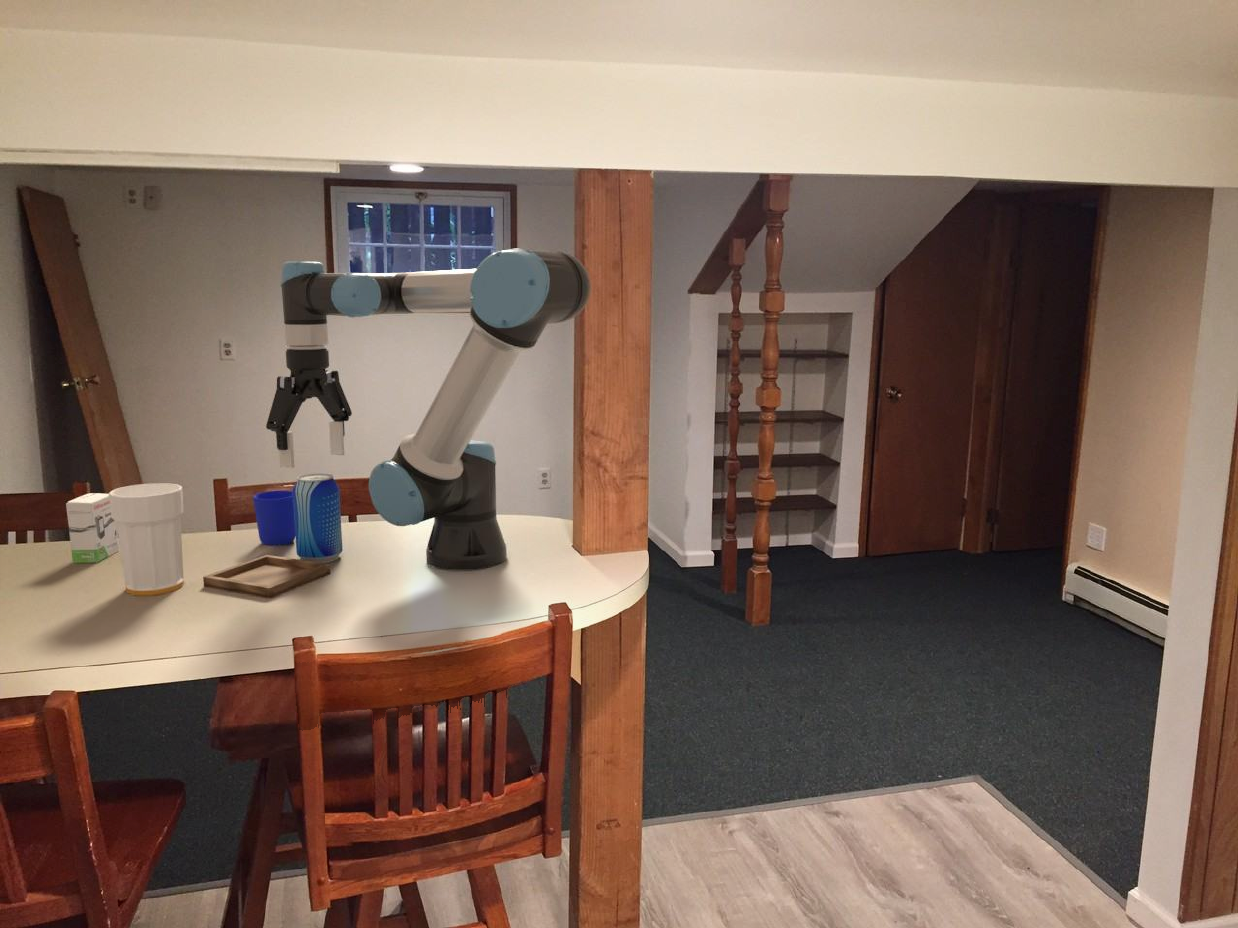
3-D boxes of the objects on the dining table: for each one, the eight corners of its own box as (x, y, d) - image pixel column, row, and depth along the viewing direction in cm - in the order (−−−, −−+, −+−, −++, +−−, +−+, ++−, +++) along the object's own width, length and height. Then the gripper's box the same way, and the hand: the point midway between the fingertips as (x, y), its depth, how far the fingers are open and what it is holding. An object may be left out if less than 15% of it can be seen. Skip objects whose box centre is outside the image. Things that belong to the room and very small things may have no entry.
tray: (330, 573, 177) (329, 564, 177) (269, 598, 164) (269, 588, 163) (267, 563, 183) (266, 554, 183) (203, 586, 170) (203, 576, 170)
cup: (107, 588, 169) (97, 490, 166) (171, 573, 177) (163, 480, 174) (137, 602, 162) (127, 500, 159) (202, 586, 170) (194, 488, 167)
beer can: (324, 566, 182) (319, 482, 179) (287, 562, 184) (282, 479, 181) (351, 554, 189) (347, 473, 186) (315, 550, 192) (310, 471, 189)
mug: (313, 533, 205) (310, 486, 203) (288, 548, 193) (285, 499, 191) (276, 532, 206) (272, 485, 204) (249, 547, 194) (245, 498, 192)
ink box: (97, 563, 184) (90, 502, 182) (71, 563, 184) (64, 502, 182) (120, 550, 192) (114, 492, 190) (95, 550, 192) (89, 492, 190)
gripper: (336, 342, 192) (341, 448, 196) (239, 351, 170) (248, 470, 174) (367, 343, 189) (371, 451, 193) (273, 353, 167) (280, 474, 171)
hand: (313, 460), depth 183 cm, fingers open, 13 cm apart
